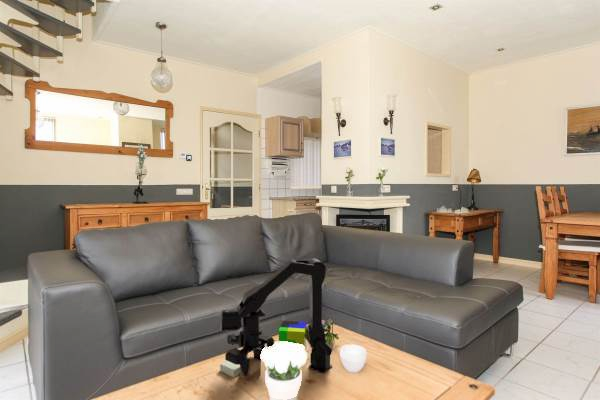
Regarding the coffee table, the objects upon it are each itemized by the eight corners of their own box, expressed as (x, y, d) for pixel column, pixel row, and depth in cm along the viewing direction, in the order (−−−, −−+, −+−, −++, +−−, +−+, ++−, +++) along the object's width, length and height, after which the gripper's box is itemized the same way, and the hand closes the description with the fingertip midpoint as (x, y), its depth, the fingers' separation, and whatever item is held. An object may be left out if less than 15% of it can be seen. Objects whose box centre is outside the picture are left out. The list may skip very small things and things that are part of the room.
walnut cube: (260, 374, 128) (260, 360, 128) (250, 380, 124) (250, 366, 124) (250, 370, 131) (250, 356, 131) (240, 375, 127) (240, 361, 127)
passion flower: (316, 352, 157) (314, 323, 163) (341, 349, 155) (338, 320, 162) (312, 347, 147) (309, 317, 154) (338, 344, 146) (335, 314, 152)
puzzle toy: (306, 345, 151) (306, 322, 150) (303, 357, 141) (304, 332, 141) (282, 344, 152) (282, 320, 151) (278, 355, 142) (278, 330, 142)
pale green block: (248, 369, 131) (248, 362, 131) (233, 377, 126) (233, 370, 126) (234, 362, 136) (234, 356, 135) (220, 370, 130) (220, 363, 130)
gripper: (253, 315, 139) (252, 355, 140) (214, 331, 124) (214, 375, 125) (275, 322, 132) (274, 364, 133) (237, 340, 117) (236, 387, 118)
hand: (250, 372), depth 127 cm, fingers closed on walnut cube, 5 cm apart
